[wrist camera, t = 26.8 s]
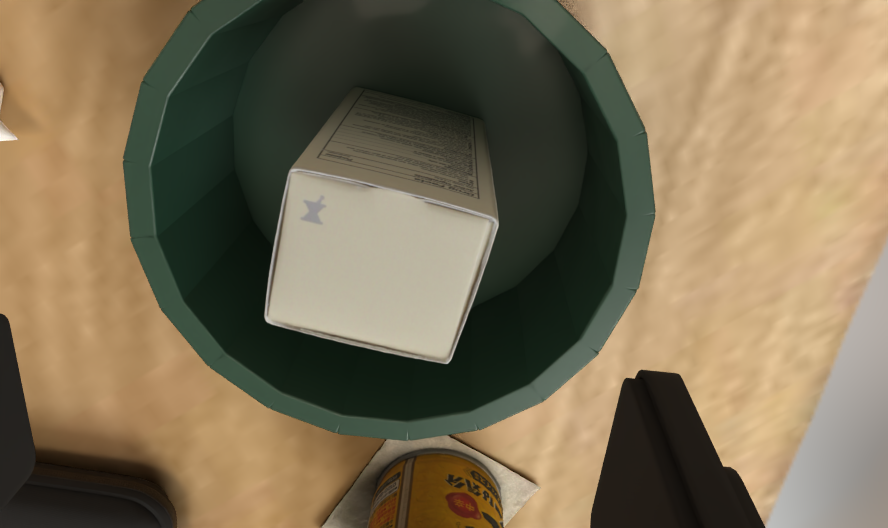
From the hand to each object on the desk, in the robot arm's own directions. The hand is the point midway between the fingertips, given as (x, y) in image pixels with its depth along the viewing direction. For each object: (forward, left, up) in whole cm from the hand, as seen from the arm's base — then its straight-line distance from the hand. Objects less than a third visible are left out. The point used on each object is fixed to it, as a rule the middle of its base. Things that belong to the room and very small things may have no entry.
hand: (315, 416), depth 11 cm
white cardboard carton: (0, 0, -17) cm, 17 cm away
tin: (0, 0, -17) cm, 17 cm away
